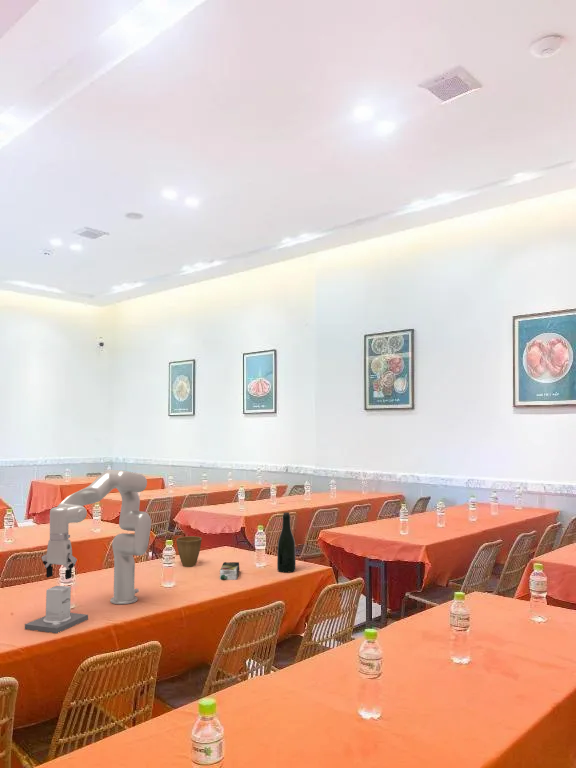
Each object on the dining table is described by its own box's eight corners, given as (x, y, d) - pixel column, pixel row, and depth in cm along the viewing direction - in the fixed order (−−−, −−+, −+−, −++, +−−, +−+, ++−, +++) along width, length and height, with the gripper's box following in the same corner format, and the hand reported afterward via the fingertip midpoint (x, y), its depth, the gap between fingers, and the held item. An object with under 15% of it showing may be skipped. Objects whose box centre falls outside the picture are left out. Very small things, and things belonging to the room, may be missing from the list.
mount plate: (57, 615, 285) (57, 608, 286) (87, 619, 280) (88, 612, 280) (24, 629, 267) (24, 621, 267) (56, 633, 261) (56, 625, 261)
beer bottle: (274, 569, 375) (274, 512, 377) (290, 568, 379) (290, 511, 381) (281, 573, 366) (281, 514, 368) (298, 571, 370) (298, 513, 372)
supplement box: (60, 621, 269) (61, 590, 270) (45, 620, 271) (45, 589, 271) (70, 616, 276) (71, 586, 277) (55, 615, 278) (55, 585, 279)
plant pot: (176, 563, 392) (177, 536, 393) (201, 562, 394) (201, 536, 395) (175, 568, 378) (175, 540, 379) (201, 568, 379) (201, 540, 380)
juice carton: (237, 580, 350) (237, 569, 351) (219, 580, 350) (219, 569, 350) (239, 572, 370) (239, 561, 371) (222, 572, 370) (222, 561, 371)
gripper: (81, 536, 276) (81, 577, 275) (48, 534, 282) (48, 574, 281) (70, 539, 269) (70, 581, 268) (36, 537, 275) (36, 578, 274)
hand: (58, 577), depth 275 cm, fingers open, 9 cm apart
